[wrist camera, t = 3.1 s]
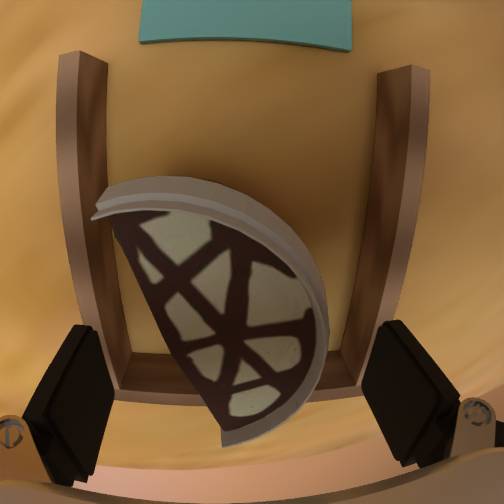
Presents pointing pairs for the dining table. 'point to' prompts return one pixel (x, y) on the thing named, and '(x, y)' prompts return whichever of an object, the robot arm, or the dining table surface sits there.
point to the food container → (226, 296)
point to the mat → (249, 21)
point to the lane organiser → (102, 252)
